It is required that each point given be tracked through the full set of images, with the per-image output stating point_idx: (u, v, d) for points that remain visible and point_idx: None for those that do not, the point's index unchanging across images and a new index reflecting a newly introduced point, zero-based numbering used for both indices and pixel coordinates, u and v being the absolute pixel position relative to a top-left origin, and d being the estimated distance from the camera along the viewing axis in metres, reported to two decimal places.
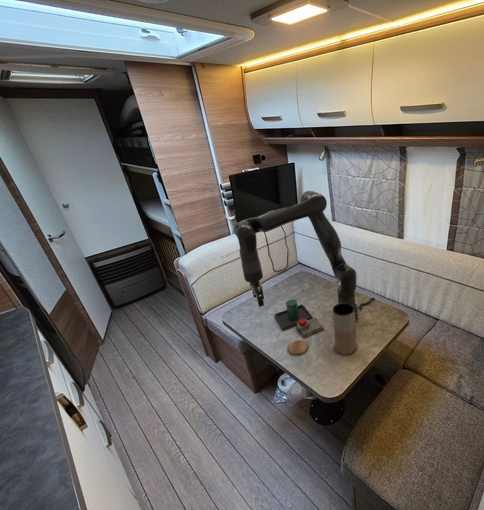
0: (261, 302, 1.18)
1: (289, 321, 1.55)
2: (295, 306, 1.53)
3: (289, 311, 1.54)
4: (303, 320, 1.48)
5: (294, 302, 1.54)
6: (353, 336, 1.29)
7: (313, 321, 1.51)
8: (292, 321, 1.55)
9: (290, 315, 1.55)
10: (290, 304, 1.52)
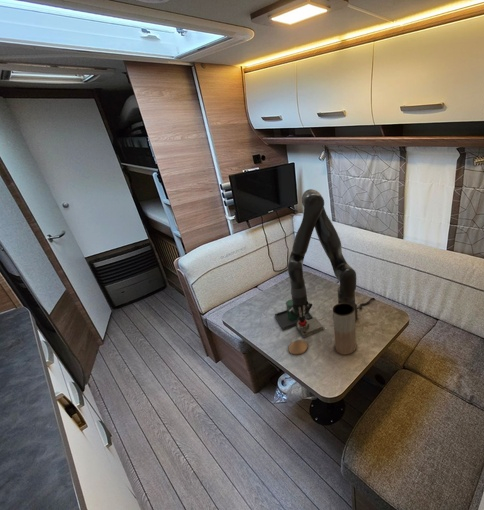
0: (299, 318, 1.46)
1: (289, 321, 1.55)
2: None
3: None
4: None
5: None
6: (353, 336, 1.29)
7: (313, 321, 1.51)
8: (292, 321, 1.55)
9: (290, 315, 1.55)
10: (290, 304, 1.52)
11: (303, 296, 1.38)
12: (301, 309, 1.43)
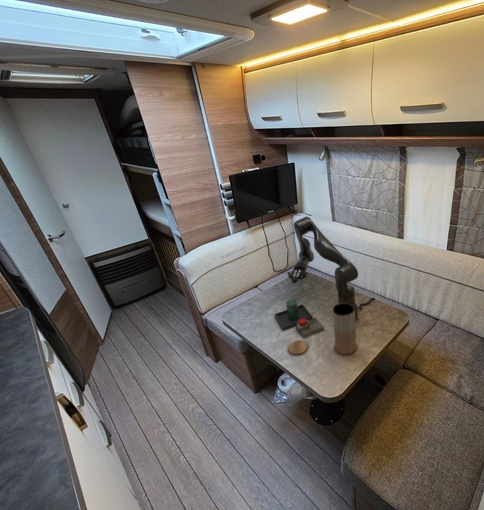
0: None
1: (289, 321, 1.55)
2: (295, 306, 1.53)
3: (289, 311, 1.54)
4: (303, 320, 1.48)
5: (294, 302, 1.54)
6: (353, 336, 1.29)
7: (313, 321, 1.51)
8: (292, 321, 1.55)
9: (290, 315, 1.55)
10: (290, 304, 1.52)
11: (301, 262, 1.74)
12: (297, 273, 1.67)
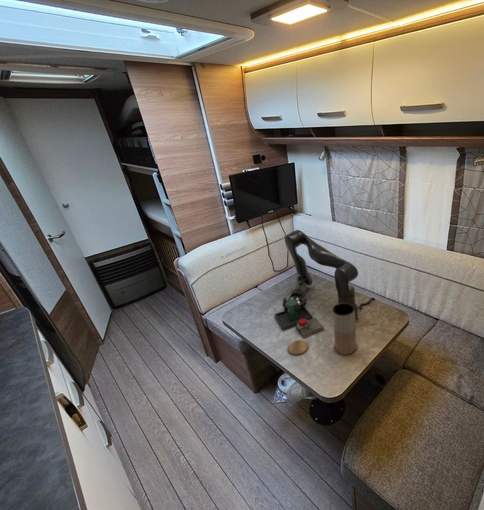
0: None
1: (289, 321, 1.55)
2: (295, 307, 1.53)
3: (289, 311, 1.54)
4: (303, 320, 1.48)
5: (294, 302, 1.54)
6: (353, 336, 1.29)
7: (313, 321, 1.51)
8: (292, 321, 1.55)
9: (290, 315, 1.55)
10: (290, 304, 1.52)
11: (299, 288, 1.67)
12: None
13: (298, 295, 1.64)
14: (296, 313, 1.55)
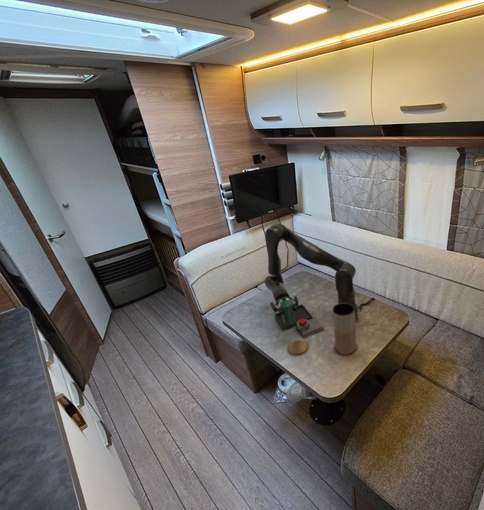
0: (278, 311, 1.35)
1: None
2: (293, 306, 1.35)
3: (287, 313, 1.34)
4: (303, 320, 1.48)
5: (290, 302, 1.36)
6: (353, 336, 1.29)
7: (313, 321, 1.51)
8: None
9: (288, 317, 1.35)
10: (287, 305, 1.33)
11: (281, 289, 1.47)
12: None
13: (285, 295, 1.44)
14: (294, 314, 1.37)
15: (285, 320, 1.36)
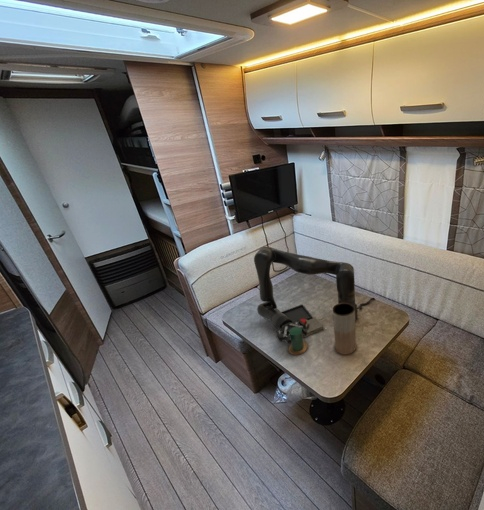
0: (286, 340, 1.31)
1: None
2: None
3: (298, 341, 1.31)
4: (303, 320, 1.48)
5: (298, 329, 1.33)
6: (353, 336, 1.29)
7: (313, 321, 1.51)
8: (292, 321, 1.55)
9: (298, 345, 1.32)
10: (297, 333, 1.31)
11: (282, 315, 1.42)
12: None
13: (288, 321, 1.40)
14: None
15: (295, 348, 1.33)
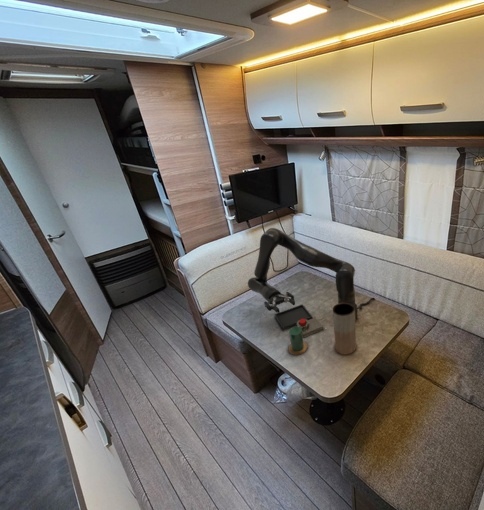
0: (274, 309, 1.34)
1: (289, 321, 1.55)
2: None
3: (298, 341, 1.31)
4: (303, 320, 1.48)
5: (298, 329, 1.33)
6: (353, 336, 1.29)
7: (313, 321, 1.51)
8: (292, 321, 1.55)
9: (298, 345, 1.32)
10: (297, 333, 1.31)
11: (271, 287, 1.46)
12: (282, 298, 1.41)
13: (277, 293, 1.44)
14: None
15: (295, 348, 1.33)
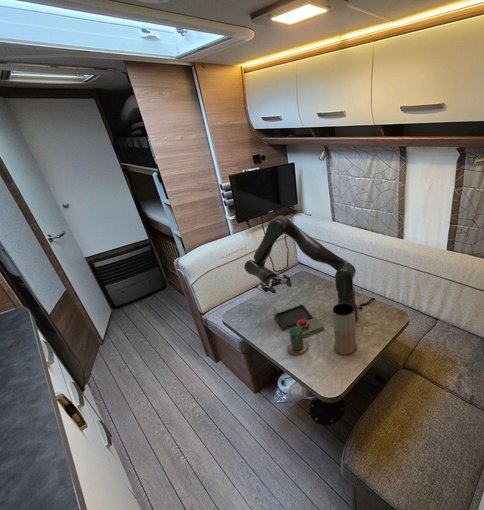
0: (270, 290, 1.33)
1: (289, 321, 1.55)
2: None
3: (298, 341, 1.31)
4: (303, 320, 1.48)
5: (298, 329, 1.33)
6: (353, 336, 1.29)
7: (313, 321, 1.51)
8: (292, 321, 1.55)
9: (298, 345, 1.32)
10: (297, 333, 1.31)
11: (268, 270, 1.45)
12: (278, 280, 1.40)
13: (273, 275, 1.43)
14: None
15: (295, 348, 1.33)
